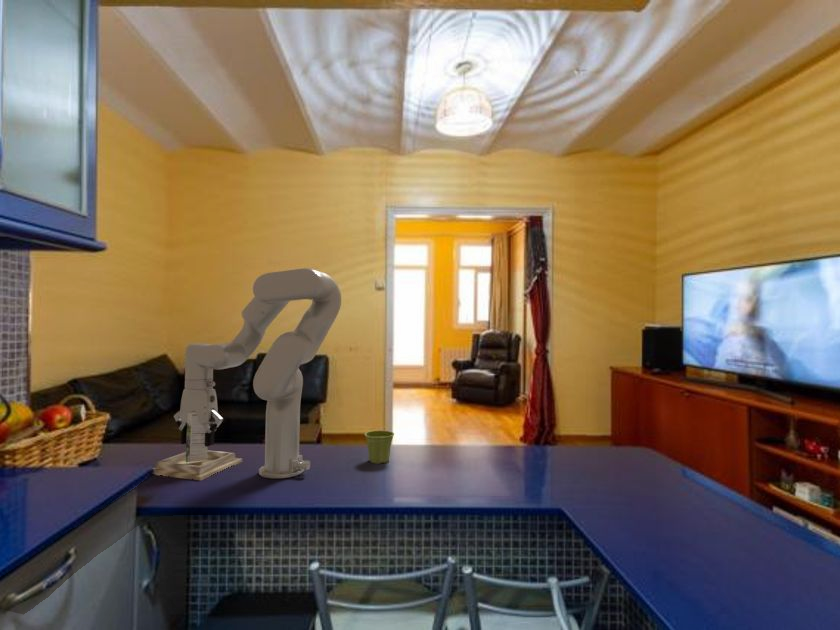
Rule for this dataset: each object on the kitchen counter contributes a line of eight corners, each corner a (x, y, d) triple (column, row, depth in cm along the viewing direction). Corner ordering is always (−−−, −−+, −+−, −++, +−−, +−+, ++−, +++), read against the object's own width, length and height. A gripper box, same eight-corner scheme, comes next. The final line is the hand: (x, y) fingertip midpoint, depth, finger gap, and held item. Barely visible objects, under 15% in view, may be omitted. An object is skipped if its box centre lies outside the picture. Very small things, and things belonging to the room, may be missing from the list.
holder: (242, 461, 144) (242, 452, 144) (200, 480, 127) (200, 469, 127) (193, 456, 149) (193, 447, 149) (147, 473, 131) (147, 463, 131)
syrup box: (186, 457, 139) (187, 408, 139) (207, 455, 142) (209, 407, 142) (185, 462, 134) (186, 412, 134) (208, 460, 136) (209, 410, 137)
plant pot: (359, 463, 144) (359, 435, 144) (371, 455, 153) (371, 429, 153) (387, 466, 141) (387, 438, 141) (397, 458, 150) (398, 431, 150)
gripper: (232, 384, 140) (230, 443, 139) (184, 382, 144) (182, 438, 144) (215, 388, 132) (213, 450, 132) (165, 385, 137) (163, 444, 137)
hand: (197, 443), depth 138 cm, fingers closed on syrup box, 7 cm apart
